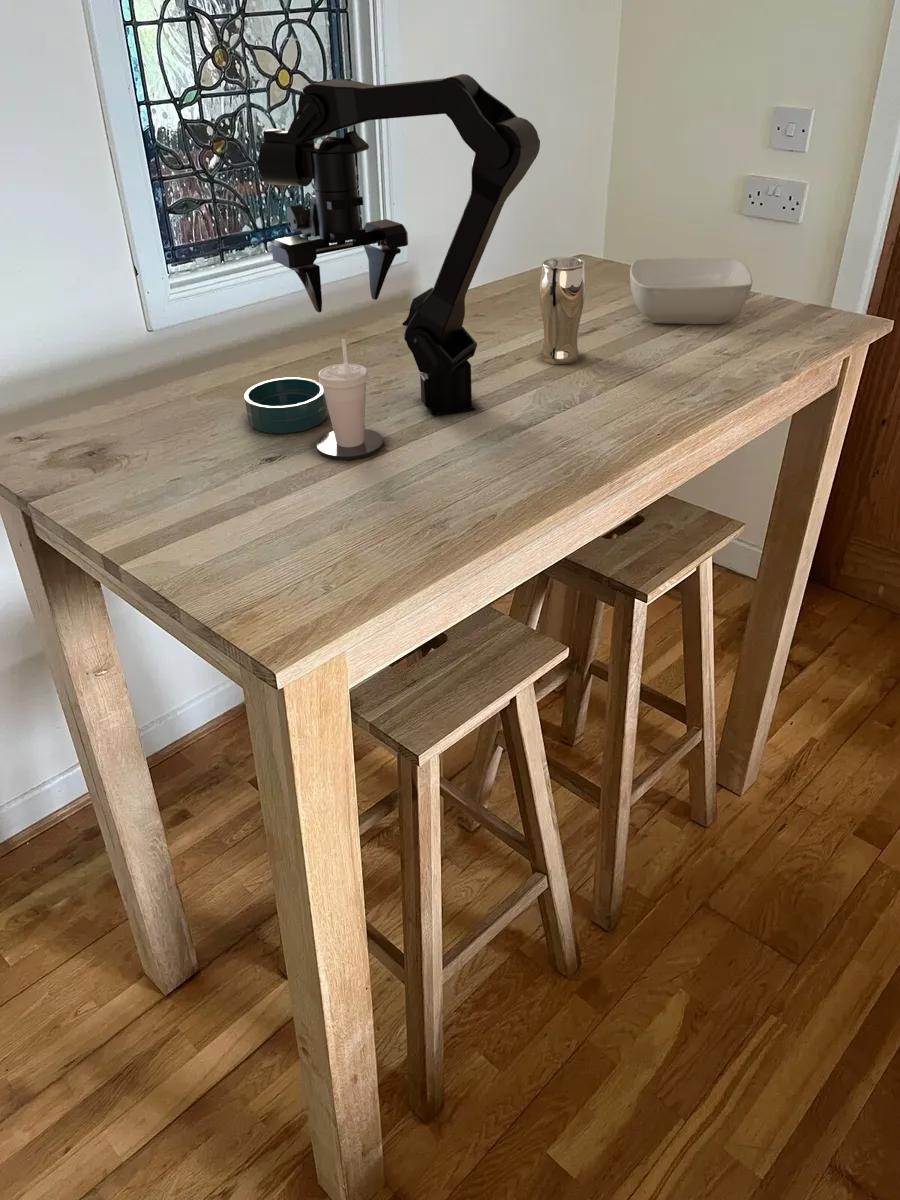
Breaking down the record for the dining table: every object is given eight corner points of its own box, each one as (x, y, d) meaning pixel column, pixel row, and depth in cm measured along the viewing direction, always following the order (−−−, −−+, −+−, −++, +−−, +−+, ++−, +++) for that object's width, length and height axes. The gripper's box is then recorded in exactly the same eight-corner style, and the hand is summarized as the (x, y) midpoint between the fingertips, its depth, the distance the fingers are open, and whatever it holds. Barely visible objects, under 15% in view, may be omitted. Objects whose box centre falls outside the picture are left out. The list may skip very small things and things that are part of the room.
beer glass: (532, 363, 146) (534, 266, 137) (545, 348, 151) (548, 255, 143) (575, 367, 144) (579, 269, 135) (586, 353, 149) (591, 257, 140)
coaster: (376, 428, 127) (376, 424, 127) (389, 455, 120) (389, 450, 120) (312, 437, 125) (311, 432, 125) (321, 464, 118) (321, 460, 118)
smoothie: (366, 453, 119) (356, 348, 111) (319, 450, 120) (306, 346, 112) (379, 432, 124) (370, 331, 116) (334, 430, 125) (323, 329, 118)
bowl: (626, 295, 174) (629, 254, 170) (736, 296, 171) (743, 254, 167) (628, 331, 157) (631, 285, 153) (751, 332, 154) (758, 286, 150)
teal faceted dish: (321, 399, 136) (318, 373, 134) (332, 428, 127) (329, 401, 125) (246, 409, 134) (241, 383, 132) (252, 439, 125) (247, 412, 123)
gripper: (365, 171, 132) (374, 281, 141) (246, 189, 124) (263, 305, 133) (406, 181, 124) (413, 297, 133) (283, 202, 116) (298, 324, 125)
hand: (347, 305), depth 131 cm, fingers open, 9 cm apart
